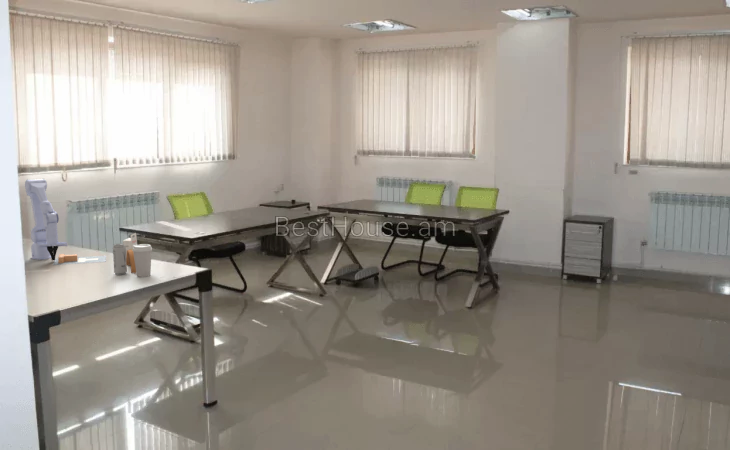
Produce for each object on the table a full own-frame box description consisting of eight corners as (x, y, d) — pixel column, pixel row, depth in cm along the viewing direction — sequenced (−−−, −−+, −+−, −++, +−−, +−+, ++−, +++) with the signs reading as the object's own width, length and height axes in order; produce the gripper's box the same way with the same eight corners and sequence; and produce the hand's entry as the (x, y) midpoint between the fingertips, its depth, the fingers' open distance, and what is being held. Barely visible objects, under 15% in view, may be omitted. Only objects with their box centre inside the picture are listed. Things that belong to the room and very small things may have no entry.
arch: (131, 273, 333) (130, 253, 331) (126, 265, 350) (125, 246, 349) (143, 272, 335) (142, 252, 334) (138, 264, 353) (137, 246, 351)
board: (52, 265, 347) (52, 265, 347) (55, 259, 364) (55, 258, 364) (105, 262, 356) (105, 261, 356) (106, 256, 373) (106, 255, 373)
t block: (58, 263, 352) (58, 257, 351) (59, 259, 361) (59, 254, 361) (76, 262, 355) (76, 256, 354) (77, 258, 364) (77, 253, 364)
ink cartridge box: (129, 258, 368) (128, 232, 366) (138, 258, 368) (136, 232, 366) (123, 261, 359) (122, 234, 357) (132, 261, 359) (131, 235, 357)
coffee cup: (157, 274, 330) (156, 244, 327) (145, 278, 321) (144, 248, 318) (141, 272, 333) (140, 243, 331) (129, 276, 324) (127, 246, 322)
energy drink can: (125, 275, 327) (123, 245, 325) (112, 275, 327) (111, 245, 325) (128, 272, 333) (127, 243, 331) (116, 272, 333) (114, 243, 331)
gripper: (36, 237, 347) (37, 262, 349) (66, 235, 352) (67, 260, 354) (37, 234, 354) (39, 259, 356) (67, 233, 359) (68, 258, 361)
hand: (53, 260), depth 355 cm, fingers closed
